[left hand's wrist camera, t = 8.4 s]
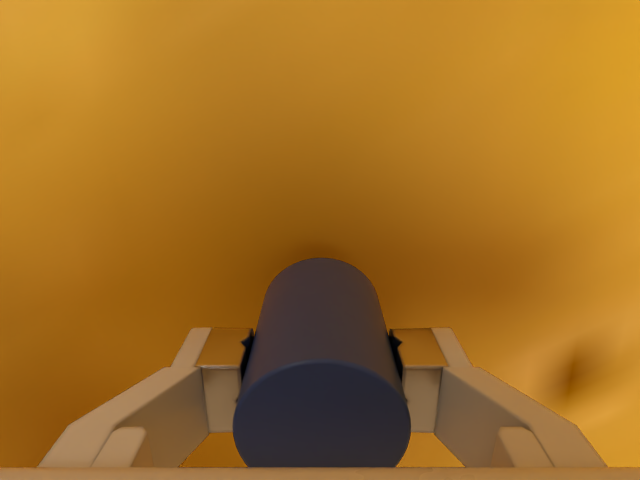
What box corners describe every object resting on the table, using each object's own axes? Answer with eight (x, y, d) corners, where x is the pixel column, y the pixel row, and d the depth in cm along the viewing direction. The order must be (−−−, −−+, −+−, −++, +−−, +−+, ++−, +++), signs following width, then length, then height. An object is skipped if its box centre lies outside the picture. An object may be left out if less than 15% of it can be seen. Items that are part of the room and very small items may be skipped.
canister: (369, 247, 11) (400, 346, 7) (385, 347, 13) (421, 486, 8) (250, 268, 12) (209, 376, 7) (277, 365, 13) (256, 509, 8)
